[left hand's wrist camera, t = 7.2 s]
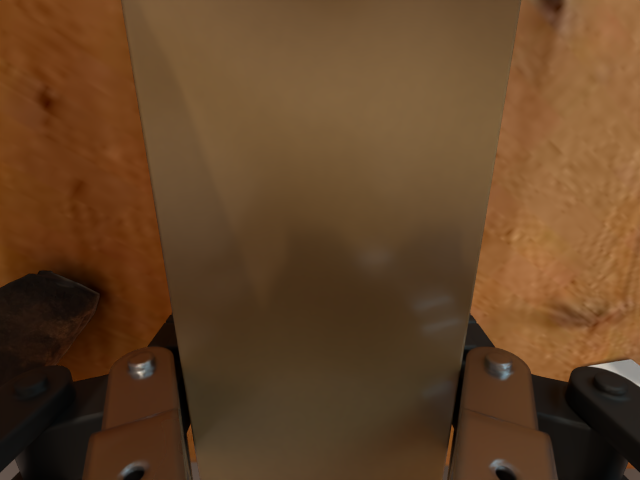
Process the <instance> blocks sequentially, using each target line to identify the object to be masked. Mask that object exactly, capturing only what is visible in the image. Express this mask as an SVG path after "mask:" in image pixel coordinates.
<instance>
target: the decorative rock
mask: <svg viewBox="0 0 640 480" xmlns="http://www.w3.org/2000/svg"><path fill="white" fill-rule="evenodd" d="M99 297H100V294H99V293H97V292H95V291H93V290H91V289H89V288H87V287H85V286H83V285H82V284H79V283H77V282H74V281H72V280H69V279H67V278H64V277H62V276H60V275H57V274H55V273H53V272H52V271H44V270H42V271H39V273H38V274H28V275H26V276H24V277H22V278H20V279H18V280H15V281H13V282H10V283H8V284H6V285H5V286H3V287H1V288H0V387H1V386H2V385H4V384H5V383H6V382H8V381H9V380H11V379H13V378H14V377H16V376H18V375H20V374H22V373H24V372H27V371H29V370H32V369H35V368H39V367H43V366H51V365H57V363H58V362H59V360H60V359H61V358H62V357H63V355H64V354H65V353H66V352H67V351H68V349H69V348H70V346H71V345H72V343H73V342H74V340H75V339H76V337H77V336H78V335H79V333H80V332H81V331H82V330H83V329H84V327H85V326H86V325H87V323H88V322H89V320H90V319H91V318H92V316H93V315H94V313H95V311H96V308H97V304H98V301H99Z"/></svg>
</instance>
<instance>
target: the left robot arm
mask: <svg viewBox="0 0 640 480" xmlns="http://www.w3.org/2000/svg"><path fill="white" fill-rule="evenodd" d="M190 424H191V422H190V416H189V410H188V404H187V398H186V392H185V385H184V379H183V373H182V367H181V361H180V355H179V349H178V343H177V337H176V331H175V325H174V319H173V313H172V315H170V316H169V318H168V319H167V320H166V323H164V324H163V326H162V327H161V329H160V330H159V331H158V333H157V334H156V336H155V337H154V338H153V340H152V341H151V342H150V344H149V345H148V347H145V348H141V349H137V350H135V351H132V352H130V353H128V354H126V355H124V356H122V357H121V358H120V359H118V360H117V361H116V362H115V363H114V364H113V365H112V367H111V369H110V371H109V374H107V375H103V376H99V377H94V378H89V379H85V380H80V381H75V382H73V379H72V376H71V373H70V371H69V369H68V368H66V367H64V366H59V365H51V366H43V367H39V368H35V369H32V370H29V371H27V372H24V373H22V374H20V375H18V376H16V377H14V378H13V379H11V380H9V381H8V382H6V383H5V384H4V385H2V386H1V387H0V472H1V471H2V470H3V469H4V468H5V467H6V466H8V465H9V463H11V462H12V461H13V460H14V459H15V461H16V463H17V466H18V468H19V470H20V472H19V473H18V474H17V475H16V476H15V477H14V478H13V479H12V480H193V477H192V469H191V461H190V454H189V446H188V439H187V431H188V429H189V426H190ZM452 425H453V428H454V433H453V439H452V446H451V454H450V461H449V469H448V477H447V480H628V479H627V478H626V477H625V476H624V475H623V474H624V471H625V469H626V467H627V464H628V462H629V463H630V464H631V465H633V466H634V467H635V468H636V469H637V470H638V471H639V472H640V387H639V386H638V385H636V384H635V383H633V382H632V381H630V380H629V379H627V378H625V377H623V376H621V375H619V374H617V373H614V372H612V371H609V370H606V369H602V368H597V367H589V366H584V367H578V368H576V369H574V370H573V371H572V372H571V375H570V378H569V382H564V381H559V380H555V379H550V378H545V377H541V376H537V375H533V374H531V371H530V369H529V367H528V365H527V364H526V363H525V362H524V361H523V360H522V359H520V358H519V357H518V356H516V355H514V354H512V353H510V352H508V351H505V350H503V349H499V348H495V346H494V345H493V344H492V342H491V341H490V339H489V338H488V337H487V335H486V334H485V333H484V331H483V330H482V328H481V327H480V326H479V324H477V323H476V320H475V319H474V318H473V316H472V315H470V316H469V322H468V328H467V334H466V340H465V346H464V352H463V358H462V364H461V370H460V377H459V383H458V389H457V395H456V401H455V407H454V413H453V419H452Z"/></svg>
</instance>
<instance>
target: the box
mask: <svg viewBox="0 0 640 480" xmlns="http://www.w3.org/2000/svg"><path fill="white" fill-rule="evenodd" d="M121 3H122V9H123V15H124V22H125V28H126V34H127V40H128V46H129V52H130V58H131V64H132V70H133V76H134V82H135V88H136V94H137V100H138V106H139V113H140V119H141V125H142V131H143V137H144V143H145V149H146V155H147V161H148V167H149V173H150V179H151V185H152V191H153V197H154V203H155V210H156V216H157V222H158V228H159V234H160V240H161V246H162V252H163V258H164V264H165V270H166V276H167V282H168V288H169V294H170V301H171V307H172V313H173V319H174V325H175V331H176V337H177V343H178V349H179V355H180V361H181V367H182V373H183V379H184V385H185V392H186V398H187V404H188V410H189V416H190V422H191V428H192V434H193V440H194V446H195V452H196V458H197V464H198V470H199V476H200V480H443V474H444V468H445V462H446V456H447V450H448V444H449V438H450V431H451V425H452V419H453V413H454V407H455V401H456V395H457V389H458V383H459V377H460V370H461V364H462V358H463V352H464V346H465V340H466V334H467V328H468V322H469V316H470V309H471V303H472V297H473V291H474V285H475V279H476V273H477V267H478V261H479V255H480V248H481V242H482V236H483V230H484V224H485V218H486V212H487V206H488V200H489V194H490V187H491V181H492V175H493V169H494V163H495V157H496V151H497V145H498V139H499V133H500V126H501V120H502V114H503V108H504V102H505V96H506V90H507V84H508V78H509V72H510V65H511V59H512V53H513V47H514V41H515V35H516V29H517V23H518V17H519V10H520V4H521V0H121Z"/></svg>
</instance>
